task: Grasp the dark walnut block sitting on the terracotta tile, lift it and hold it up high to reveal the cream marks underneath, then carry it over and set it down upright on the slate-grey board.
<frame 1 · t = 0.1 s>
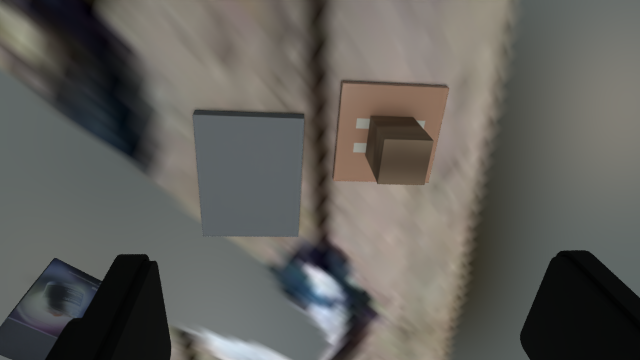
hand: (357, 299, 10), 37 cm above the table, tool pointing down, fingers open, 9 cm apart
slate board: (251, 175, 49), on the table
walnut block: (388, 136, 47), point 1 cm above the table, touching code tile
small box: (83, 287, 55), on the table
code tile: (386, 133, 48), on the table
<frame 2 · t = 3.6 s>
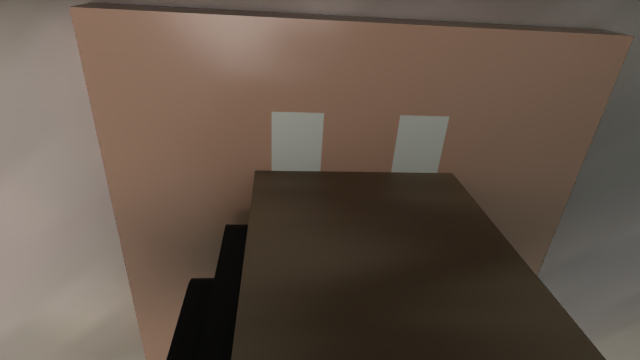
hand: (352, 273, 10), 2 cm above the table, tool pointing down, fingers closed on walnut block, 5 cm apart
walnut block: (347, 251, 11), point 1 cm above the table, touching code tile, gripper
code tile: (342, 230, 12), on the table
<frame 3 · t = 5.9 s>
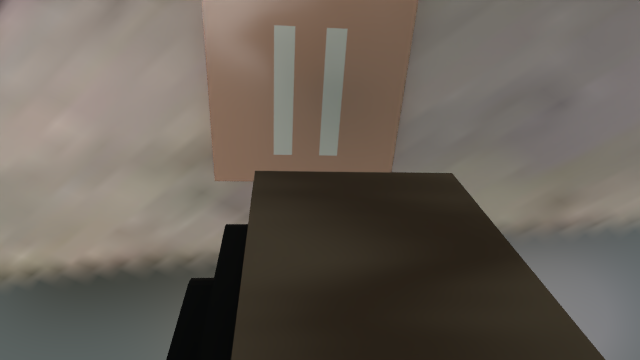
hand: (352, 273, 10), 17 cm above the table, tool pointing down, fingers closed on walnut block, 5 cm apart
walnut block: (347, 251, 11), point 16 cm above the table, touching gripper
code tile: (307, 91, 26), on the table
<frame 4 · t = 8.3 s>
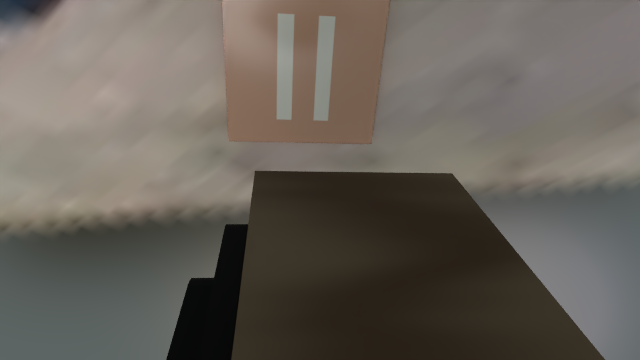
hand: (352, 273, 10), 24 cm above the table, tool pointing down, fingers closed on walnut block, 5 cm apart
walnut block: (347, 251, 11), point 23 cm above the table, touching gripper
code tile: (303, 67, 32), on the table
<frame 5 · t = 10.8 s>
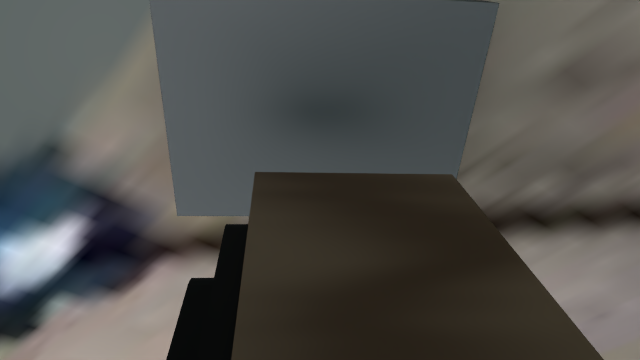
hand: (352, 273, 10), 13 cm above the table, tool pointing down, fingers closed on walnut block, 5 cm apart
slate board: (320, 110, 22), on the table
walnut block: (347, 252, 11), point 13 cm above the table, touching gripper
when the fingers open (3 cm above the table, at t = 12.9 s): walnut block stays where it is, resting on slate board.
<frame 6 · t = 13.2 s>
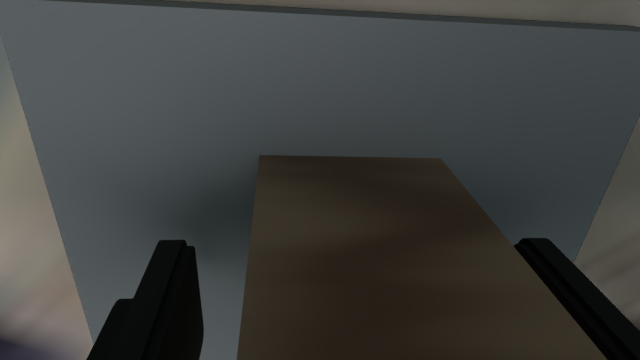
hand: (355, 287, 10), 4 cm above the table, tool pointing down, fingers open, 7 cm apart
slate board: (336, 204, 13), on the table
walnut block: (344, 232, 12), point 1 cm above the table, touching slate board
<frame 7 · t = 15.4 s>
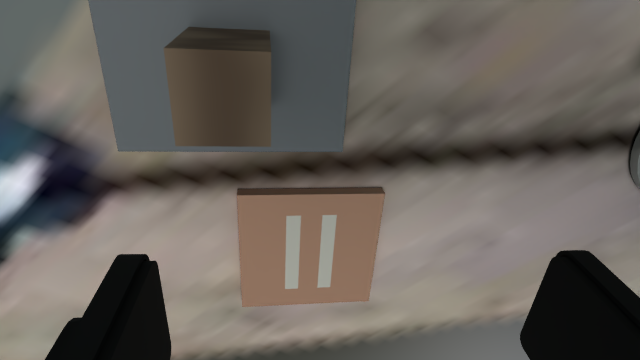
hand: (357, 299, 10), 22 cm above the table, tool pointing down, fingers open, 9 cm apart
slate board: (232, 63, 28), on the table
walnut block: (231, 68, 26), point 1 cm above the table, touching slate board
code tile: (308, 246, 36), on the table
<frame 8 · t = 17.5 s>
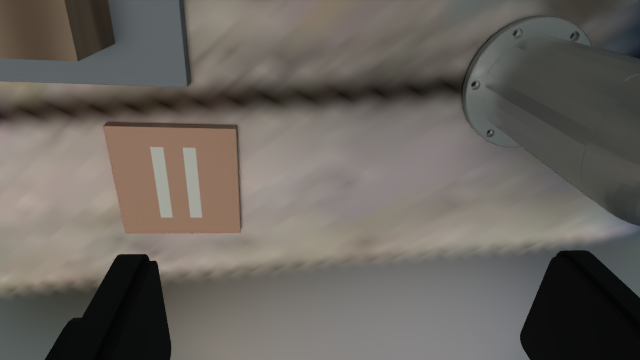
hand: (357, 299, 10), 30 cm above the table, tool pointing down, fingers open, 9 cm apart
slate board: (83, 6, 33), on the table
walnut block: (76, 9, 32), point 1 cm above the table, touching slate board
code tile: (179, 179, 41), on the table
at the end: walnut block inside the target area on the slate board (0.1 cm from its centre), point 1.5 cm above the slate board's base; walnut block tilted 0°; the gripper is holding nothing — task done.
